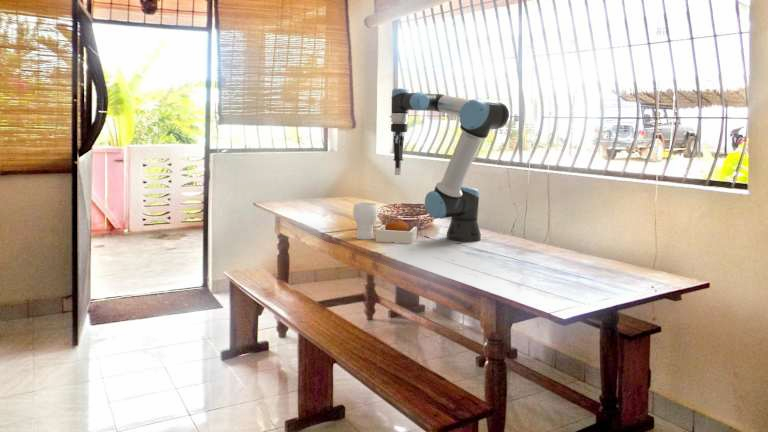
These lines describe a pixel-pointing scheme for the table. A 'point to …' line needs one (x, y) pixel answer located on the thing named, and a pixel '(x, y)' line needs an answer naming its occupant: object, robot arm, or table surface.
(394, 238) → the frame
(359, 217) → the cup
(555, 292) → the table surface
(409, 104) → the robot arm
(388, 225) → the fruit
